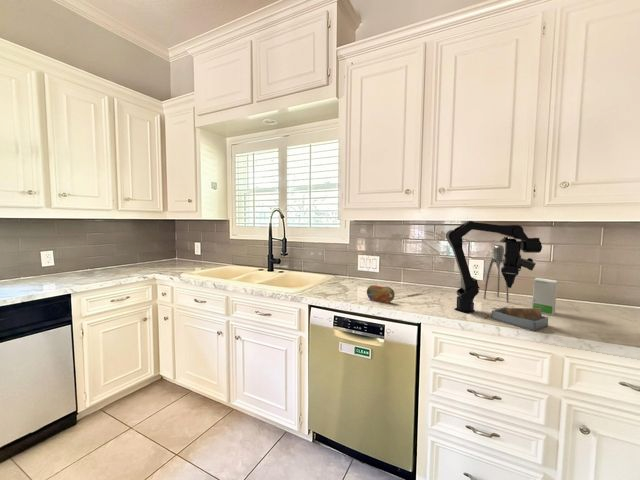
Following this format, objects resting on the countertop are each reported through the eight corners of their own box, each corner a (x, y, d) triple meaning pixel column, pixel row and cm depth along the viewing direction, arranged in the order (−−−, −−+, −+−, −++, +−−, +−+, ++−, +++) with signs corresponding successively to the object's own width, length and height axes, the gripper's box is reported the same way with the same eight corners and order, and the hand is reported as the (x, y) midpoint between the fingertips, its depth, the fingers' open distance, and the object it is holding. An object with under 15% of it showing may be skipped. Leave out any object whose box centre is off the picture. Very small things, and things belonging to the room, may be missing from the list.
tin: (366, 299, 150) (366, 284, 149) (368, 298, 152) (369, 283, 152) (392, 304, 141) (393, 288, 140) (395, 302, 143) (395, 287, 143)
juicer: (483, 298, 151) (485, 244, 149) (497, 296, 155) (500, 244, 153) (500, 303, 142) (503, 246, 140) (515, 301, 146) (518, 245, 144)
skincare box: (531, 311, 129) (532, 279, 128) (533, 308, 134) (535, 277, 133) (554, 316, 123) (556, 282, 122) (555, 312, 128) (557, 279, 127)
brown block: (504, 308, 118) (539, 308, 110) (506, 307, 121) (540, 308, 113) (505, 317, 117) (541, 319, 109) (507, 317, 120) (542, 318, 112)
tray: (491, 318, 120) (491, 310, 120) (504, 314, 126) (505, 306, 125) (534, 331, 106) (535, 322, 106) (547, 325, 112) (548, 317, 112)
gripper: (534, 255, 112) (532, 293, 113) (535, 251, 127) (533, 284, 128) (501, 253, 119) (500, 288, 121) (506, 250, 134) (505, 281, 135)
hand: (510, 285), depth 126 cm, fingers open, 9 cm apart
